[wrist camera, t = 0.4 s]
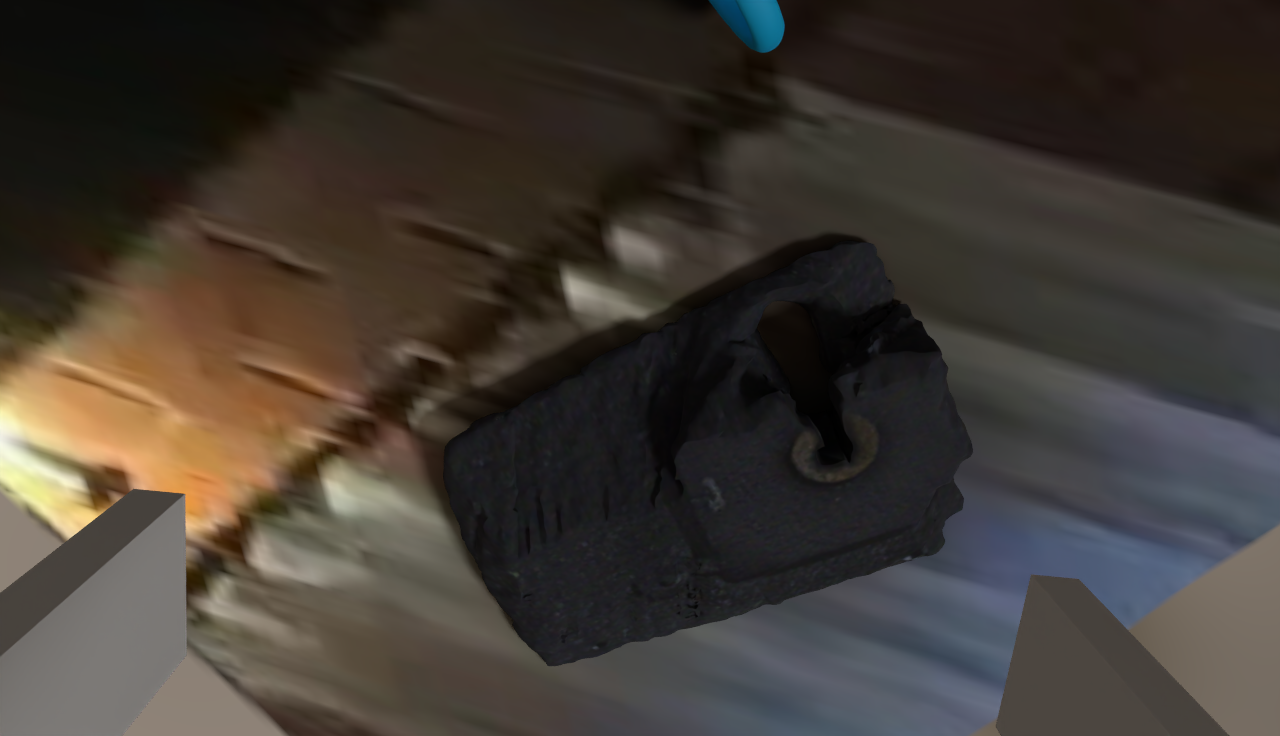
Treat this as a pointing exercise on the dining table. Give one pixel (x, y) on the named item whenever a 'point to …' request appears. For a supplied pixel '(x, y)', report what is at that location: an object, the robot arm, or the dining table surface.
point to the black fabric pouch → (713, 467)
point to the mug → (753, 21)
